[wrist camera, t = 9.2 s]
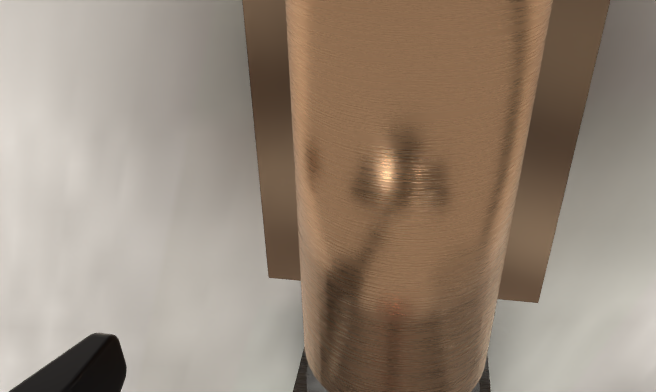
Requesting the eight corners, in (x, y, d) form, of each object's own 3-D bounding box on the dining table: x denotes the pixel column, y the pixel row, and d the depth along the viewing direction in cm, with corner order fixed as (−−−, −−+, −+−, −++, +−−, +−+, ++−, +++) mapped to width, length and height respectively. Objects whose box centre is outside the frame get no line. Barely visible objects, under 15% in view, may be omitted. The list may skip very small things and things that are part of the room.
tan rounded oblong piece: (479, 288, 20) (493, 429, 15) (320, 275, 21) (287, 404, 16) (542, -97, 14) (599, -56, 9) (308, -97, 14) (248, -58, 10)
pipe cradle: (534, 284, 22) (545, 335, 20) (274, 261, 23) (257, 306, 21) (633, -150, 14) (667, -144, 12) (239, -145, 16) (208, -139, 14)
